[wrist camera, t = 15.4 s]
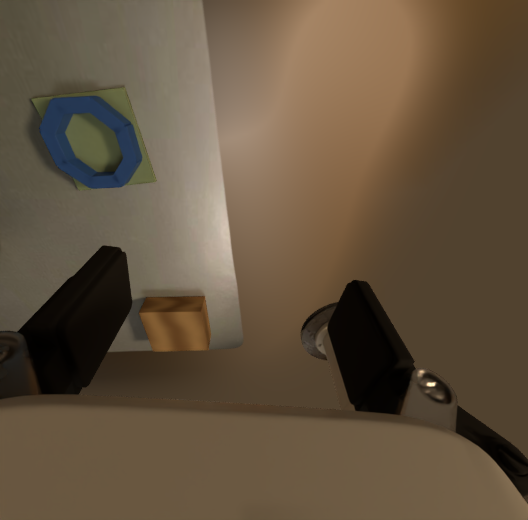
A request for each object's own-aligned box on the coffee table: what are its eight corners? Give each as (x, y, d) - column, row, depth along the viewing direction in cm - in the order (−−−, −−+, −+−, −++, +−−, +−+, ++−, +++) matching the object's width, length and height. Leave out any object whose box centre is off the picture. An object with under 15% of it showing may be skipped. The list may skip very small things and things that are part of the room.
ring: (154, 140, 33) (149, 143, 31) (118, 198, 37) (112, 203, 35) (71, 73, 28) (60, 73, 27) (41, 146, 32) (30, 149, 31)
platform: (204, 296, 48) (201, 311, 45) (211, 334, 55) (208, 350, 51) (146, 297, 48) (138, 312, 45) (159, 335, 54) (153, 351, 51)
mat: (156, 180, 36) (155, 181, 35) (80, 189, 36) (78, 190, 36) (125, 87, 30) (123, 87, 29) (33, 98, 30) (30, 98, 30)
